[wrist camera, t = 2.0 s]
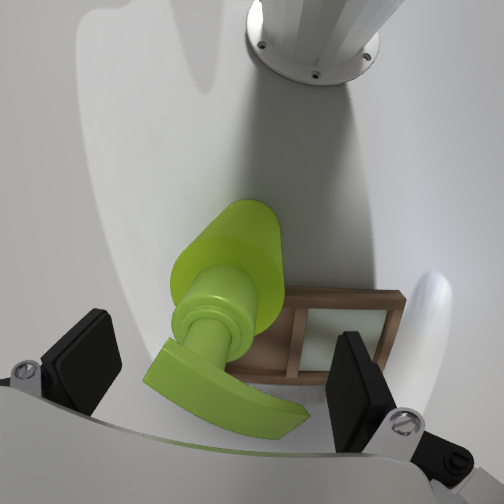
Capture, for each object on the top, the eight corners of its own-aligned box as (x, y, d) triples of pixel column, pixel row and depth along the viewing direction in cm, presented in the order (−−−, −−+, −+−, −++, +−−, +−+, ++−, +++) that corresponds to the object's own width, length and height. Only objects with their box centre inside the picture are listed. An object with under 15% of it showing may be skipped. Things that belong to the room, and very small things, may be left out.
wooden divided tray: (194, 279, 28) (178, 303, 24) (398, 290, 27) (418, 314, 22) (200, 364, 32) (189, 394, 27) (374, 371, 31) (385, 399, 26)
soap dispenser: (265, 277, 28) (247, 468, 9) (206, 238, 27) (88, 386, 8) (301, 229, 26) (357, 392, 7) (239, 186, 25) (138, 264, 6)
